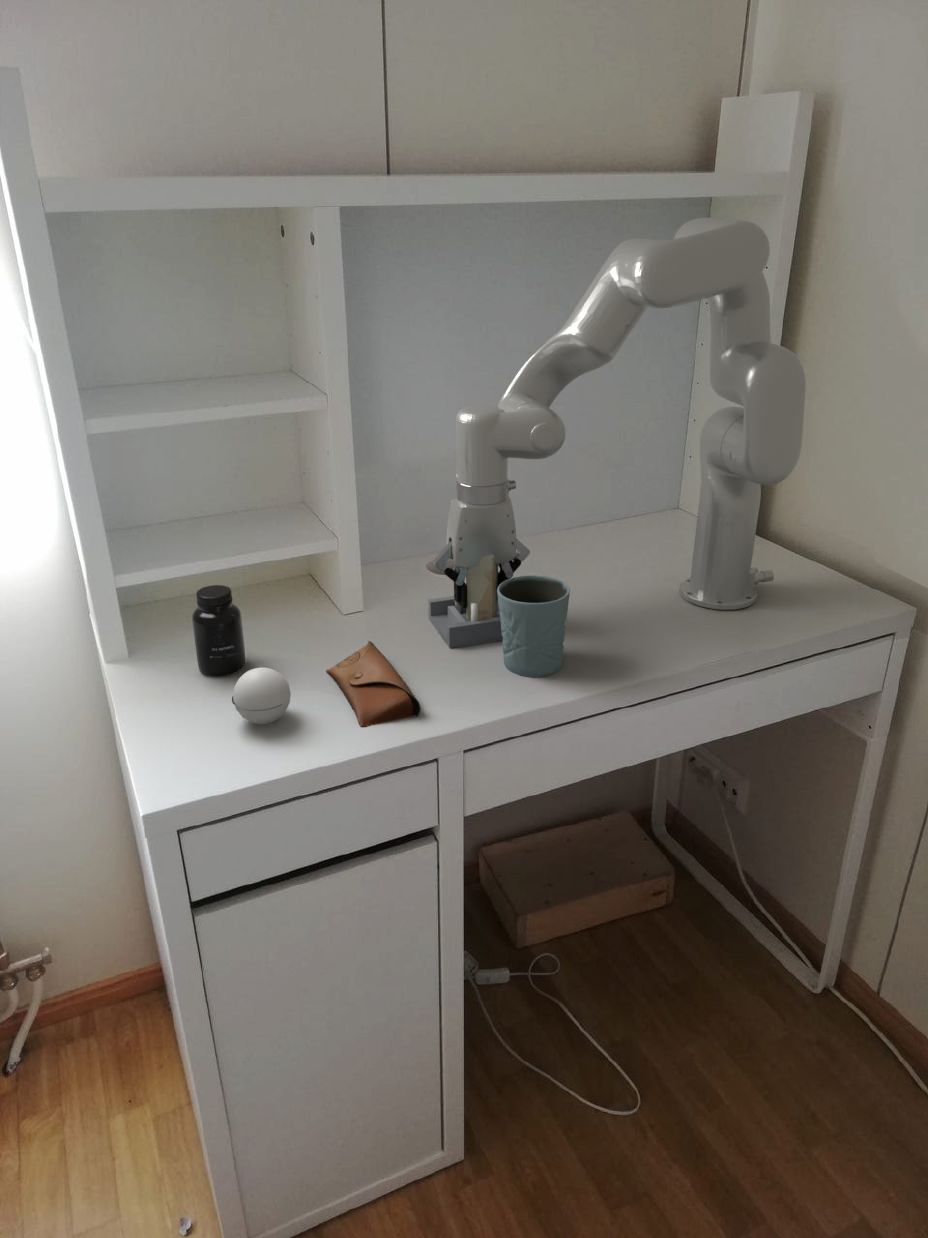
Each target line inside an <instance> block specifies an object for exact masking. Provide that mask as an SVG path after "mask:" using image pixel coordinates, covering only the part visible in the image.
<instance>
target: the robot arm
mask: <svg viewBox="0 0 928 1238" xmlns="http://www.w3.org/2000/svg"><path fill="white" fill-rule="evenodd" d="M770 249H771V248H770V241H769V238H768V236H767V234H766V232H765V231H764V229H762V228H761V227H760V225H757V224H756V223H755V222H753V221H749V220H743V219H735V218H734V219H733V218H732V219H731V218H721V217H720V218H719V217H700V218H694V219H691V220H689V221H686V222H685V223H683V224H682V225H681V226H680V227H679V228H678V230H677V231H676V233H675V234H674V238H673V239H665V240H663V239H662V240H661V239H652V238H644V237H643V238H641V237H640V238H630V239H627V240H625V241H622V242H621V243H620V244H618V245H617V246H616V247H615V248H614V249H613V250H612V252H610V255H609V256H608V258H607V259H606V260H605V262H604V263H603V265H602V266H601V268H600V270H599V271H598V272H597V274H596V276H595V277H594V279H593V280H592V281H591V283H590V285H589V286H588V288H587V290H586V291H585V293H584V294H583V296H582V297H581V298H580V300H579V302H578V303H577V305H576V306H575V308H574V310H573V311H572V313H571V314H570V315H569V317H568V318H567V319H566V322H565V323H564V324H563V326H562V327H561V328H560V329H559V330H558V331H557V332H556V333H555V334H553V335H552V336H551V337H550V338H549V339H548V340H547V341H545V343H544V344H543V345H542V346H541V347H540V348H538V349H537V350H536V351H535V352H534V353H533V354H532V355H531V356H530V357H529V358H528V359H527V360H526V361H525V362H524V364H523V365H522V367H521V368H520V369H519V371H517V373H516V375H515V376H514V378H513V380H512V381H511V383H509V386H508V387H507V388H506V390H505V392H504V393H503V395H502V397H501V398H500V401H499V402H498V404H497V406H495V405H488V404H487V405H486V404H485V405H483V404H477V405H469V406H465V407H463V408H461V409H460V410H459V411H458V412H457V414H456V415H455V458H456V459H455V462H456V463H455V467H456V468H455V469H456V471H455V472H456V475H455V477H456V497H455V498H452V499H451V501H450V505H449V511H448V517H447V526H446V527H447V528H446V529H447V530H446V542H445V546H444V548H443V549H442V550H441V551H440V553H438V554H437V556H436V557H435V558H434V559H433V560H432V564H433V565H434V566H435V568H436V569H438V570H439V571H440V572H442V573H443V574H444V575H445V576H446V577H447V578H449V579H450V580H451V581H452V582H453V596H454V599H455V601H456V602H458V604H459V605H460V606H461V607H462V609H465V608H466V607H467V585H466V582H465V581H466V575H467V572H468V570H469V568H470V567H475V566H478V564H479V562H480V560H481V557H484V556H487V555H494V559H495V564H498V569H499V571H498V587H499V585H500V584H501V583H502V582H504V581H506V580H508V579H511V578H514V577H513V576H514V573H515V572H516V570H518V569H519V567H520V566H521V565H522V562H524V561H525V560H526V559H527V558H528V557H529V556H530V554H531V550H530V549H529V548H528V547H527V546H526V545H524V544H523V543H522V542H521V541H520V540H519V539H518V538H517V531H516V523H515V522H516V521H515V514H514V513H515V512H514V508H513V503H512V499H511V497H509V495H510V494H509V492H510V491H511V490H516V489H517V483H516V480H511V479H508V458H511V459H523V460H524V459H525V460H542V459H547V458H549V457H551V456H554V455H555V454H557V452H558V451H560V449H561V448H562V446H563V445H564V443H565V441H566V434H567V433H566V426H565V424H564V422H563V420H562V418H561V417H560V415H558V414H557V413H556V412H555V411H554V410H553V409H551V408H550V407H551V405H552V404H553V403H554V401H555V400H556V399H557V397H559V394H560V393H561V392H562V391H563V390H564V389H565V388H566V386H567V387H568V385H569V384H570V383H572V382H573V381H574V380H575V379H577V378H579V377H580V376H583V375H585V374H587V373H589V372H592V371H594V370H597V369H599V368H602V367H604V366H606V365H607V364H609V363H610V362H612V360H614V358H615V357H616V355H617V353H619V351H620V349H621V347H622V346H623V345H624V343H625V342H626V340H627V338H628V337H629V335H630V334H631V333H632V331H633V330H634V328H635V326H636V325H637V323H638V322H639V320H640V319H641V318H642V317H643V315H644V314H645V312H646V310H647V309H648V308H653V309H668V308H674V307H679V306H683V305H687V304H691V303H696V302H699V301H702V300H705V299H706V300H707V303H708V307H709V315H710V316H709V317H710V342H709V343H710V345H709V346H710V347H709V349H710V350H709V351H710V352H709V380H710V385H711V388H712V390H713V391H714V393H716V395H718V396H719V397H721V398H723V399H725V400H727V401H728V402H729V401H730V402H732V403H734V404H737V405H740V406H728V407H724V408H719V410H716V411H715V412H713V413H712V414H711V415H710V416H709V417H708V418H707V419H706V421H705V422H704V424H703V427H702V428H701V433H700V438H699V458H700V486H699V488H700V489H699V498H698V499H699V500H698V505H697V515H696V516H697V517H696V526H695V535H694V543H693V553H692V560H691V571H690V577H689V578H686V579H684V580H683V581H682V582H681V583H680V585H679V593H680V595H681V597H682V598H683V599H684V600H686V601H687V602H689V603H691V604H694V605H696V606H699V607H701V608H707V609H712V610H721V611H722V610H723V611H728V610H729V611H731V610H733V611H734V610H739V609H744V608H747V607H750V606H752V605H753V604H754V603H756V600H757V596H758V595H757V593H758V592H757V590H756V588H755V586H756V585H758V584H759V583H767V582H772V581H773V580H774V578H775V574H774V573H775V572H773V570H771V569H766V570H760V571H759V569H758V568H757V567H752V560H753V555H754V546H755V541H756V532H757V527H758V526H757V525H758V518H759V511H760V505H761V497H762V495H761V493H762V488H761V486H773V485H777V484H780V483H781V482H783V481H785V480H786V479H787V478H788V477H789V476H790V475H791V474H792V472H794V470H795V468H796V466H797V464H798V462H799V460H800V455H801V451H802V444H803V435H804V434H803V433H804V417H805V403H806V383H807V382H806V375H805V371H804V366H803V365H802V362H801V360H800V359H799V357H798V356H797V355H796V353H795V352H792V350H790V349H789V348H786V347H785V346H782V345H778V344H775V343H773V342H772V340H771V338H772V337H771V299H770V291H769V287H768V283H767V280H766V277H765V275H764V272H763V271H764V270H765V268H766V266H767V264H768V262H769V258H770V251H771V250H770ZM448 560H453V568H452V567H451V566H449V565H448V564H447V562H448Z"/></svg>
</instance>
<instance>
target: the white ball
mask: <svg viewBox="0 0 928 1238" xmlns="http://www.w3.org/2000/svg"><path fill="white" fill-rule="evenodd" d="M232 692H233V693H232V697H231V702H232V704H233V705H234V707H235V710H236V711H237V712H238V714H240V716H241V717H242V718H243V719H245V720H246V721H248V722H250V723H252V724H257V725H265V724H270V723H274V722H275V721H277V720H278V719H280V718H281V717H282V716H283V715H284V714H285V713H286V712H287V709H288V708H289V704H290V702H291V696H292V695H291V694H292V693H291V689H290V685H289V683H288V681H287V679H286V678H285V677H284V675H282V674H281V673H280V672H278V670H275V669H272V668H269V667H255V668H252V669H249V670H247V671H246V672H245V673H243V674H242V675H241V676H240V677H239V678H238V679H237V681H236V683H235V685H234V688H233V691H232Z"/></svg>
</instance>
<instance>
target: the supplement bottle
mask: <svg viewBox="0 0 928 1238" xmlns="http://www.w3.org/2000/svg"><path fill="white" fill-rule="evenodd" d="M195 594H196V605H197V608H195V609H194V611H193V612H192V616H191V622H192V630H193V636H194V637H193V638H194V646H195V653H196V659H197V660H196V661H197V667H198V669H199V670H200V672H201V673H202V674H205V675H207V676H210V677H224V676H225V677H226V676H229V675H233V674H235V673H239V671H241V670H242V669H243V668H244V667H245V665H246V664H247V663H246V662H247V661H246V658H247V657H246V648H245V639H244V628H243V622H242V621H243V619H242V618H243V617H242V612H241V610H240V608H239V607H238V606H237V605H235V603H233V602H234V599H233V594H232V588H230V587H228V586H226V585H223V584H222V585H220V584H215V585H214V584H213V585H206V586H204V587H200V588H199V589H198V590H197V591H196V593H195Z"/></svg>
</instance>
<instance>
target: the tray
mask: <svg viewBox="0 0 928 1238" xmlns="http://www.w3.org/2000/svg"><path fill="white" fill-rule="evenodd" d="M427 603H428V620H429V622H430V623H431V624H432V626H433V627H434V628H435V630H436V631H437V633H438V634H439V635H440V637H441V638H442V640H443V641H444V642H445V644H446V645H447V647H448V648H449V649H452V648H460V647H464V646H465V647H466V646H471V645H477V644H484V643H491V642H496V641H497V642H498V641H503V637H502V635H501V633H502V631H501V622H500V621H501V618H500V610H499V603H498V612H497V614H496V617H495V618H488V619H481V620H478V604H477V603H471V621H467V607H466V608H465V609H462V607H461V606H460V605H459V604H458V602H456V601H455V599H454V595H452V596H443V597H438V598H432V599H431V598H430V599H428V600H427Z"/></svg>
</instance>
